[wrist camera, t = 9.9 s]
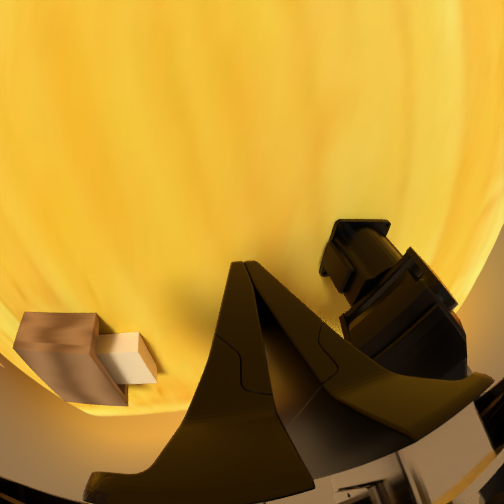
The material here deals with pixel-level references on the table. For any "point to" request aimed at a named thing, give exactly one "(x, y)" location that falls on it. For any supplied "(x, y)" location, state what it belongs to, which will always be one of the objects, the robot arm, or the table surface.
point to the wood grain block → (68, 357)
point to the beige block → (126, 358)
